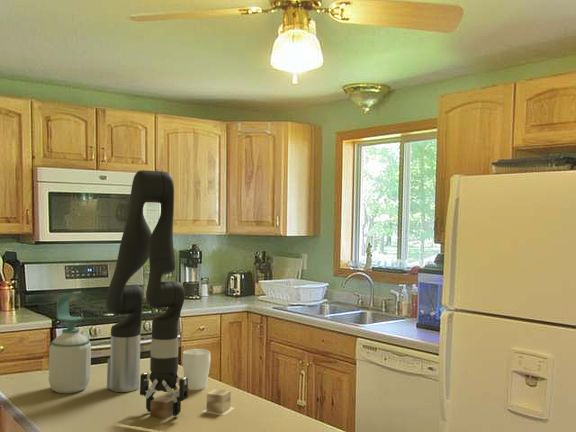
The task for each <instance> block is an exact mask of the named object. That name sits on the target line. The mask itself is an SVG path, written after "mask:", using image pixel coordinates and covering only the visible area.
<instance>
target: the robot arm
mask: <svg viewBox="0 0 576 432" xmlns="http://www.w3.org/2000/svg"><path fill="white" fill-rule="evenodd" d="M130 190H131V191H130V196H129V204H128V209H127V210H128V211H127V216H126V221H125V225H124V228H123V233H122V235H121V236H122V237H121V241H120V244H119V249H118V254H117V259H116V260H117V261H116V264H115V269H114V271H113V275H112V278H111V280H110V283H109V286H108V290H107V293H106V299H105V305H106V306H105V307H106V310H107V312H108V313H109V314H111V315H124V314H125V315H126V314H127V316H126V317H125V318H124V319H123V320H122V321H120V322H117V323H116V324H113V325H112V326H111V328H110V356H109V357H110V358H109V357H108V358H107V369H106V370H107V371H106V376H107V377H106V389H107V390H109V391H111V392H115V393H127V392H128V393H129V392H133V391H136V390H138V389H139V395H140V396H144V397H145V399H146V400H145V402H146V403H145V404H146V405H145V408H146V410H147V412H148V413H150V403H151V400H153V399H155V394H156V392H164V393H167V394H168V396H169V397H172V399H173V401H174V402H173V415H172V416H174V417H177V416H178V415H180V413H181V410H182V409H181V407H182V402H183V401H185V400H187V399H188V397H189V394H188V393H189V389H188V378H187V377H184V376H183V377H180V376H178V370H179V337H178V336H179V332H178V331H179V328H178V327H179V320H180V316H181V312H182V309H183V306H184V302H185V298H186V290H185V288H184V285H183V283H182V282H179V281H175V280H174V281H162V277H163V275H168V274H171V273H173V272H175V270H176V259H175V258H176V257H175V248H174V230H173V229H174V215H175V214H174V209H175V207H174V206H175V204H174V203H175V184H174V180H173V176H172V175H171V173H169V172H168V171H164V170H163V171H161V170H138V171H137V172H136V173H135V174H134V176H133V179H132V184H131V189H130ZM146 203H147V204H149V203H151V204H153V203H154V204H155V203H158V204H160V215H159V218H158V221H157V222H156V225H155V227H154V229H153V231H151V228H150V227H149V225H148V223H147V221H146V218H145V215H144V206H145V204H146ZM147 261H148V263H149V274H148V280H147V285H146V291H145V299H146V302H147V304H148V306H150V308H152V309H161V308H167V309H166V310H165V313H162V314H160V315H157V316H155V317H154V318H152V320H151V323H152V324H151V343H150V359H149V361H150V362H149V363H150V364H149V367H150V368H149V369H150V373H149V372H148V371H146V372H143V373H141V374H140V370H141V369H140V368H141V367H140V366H141V365H140V364H141V330H142V329H141V328H142V319H143V306H144V292H143V288H142V287H141V286H140V285H138V284H127V283H128V281H129V280H130V279H131V278H132V277H133V276H134V275H135V274H136V273H137V272H138V271H139V270H140V269H141V268H142V267H144V265H145V264H146V263H147ZM150 382H151V383H152V384H151V385H150V384H149V383H150ZM177 383H178V384H177ZM149 385H150V386H149Z"/></svg>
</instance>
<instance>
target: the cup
mask: <svg viewBox="0 0 576 432" xmlns="http://www.w3.org/2000/svg"><path fill="white" fill-rule="evenodd" d="M211 360H212V359H211V351H210V350H209V349H205V348H192V349H191V348H190V349H186V350H184V351H182V361H181V363H182V369H183V371H182V372H183V378H184V377H187V378H188V391H200V390H205V389H207V387H208V379H209V373H210V368H211Z"/></svg>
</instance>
